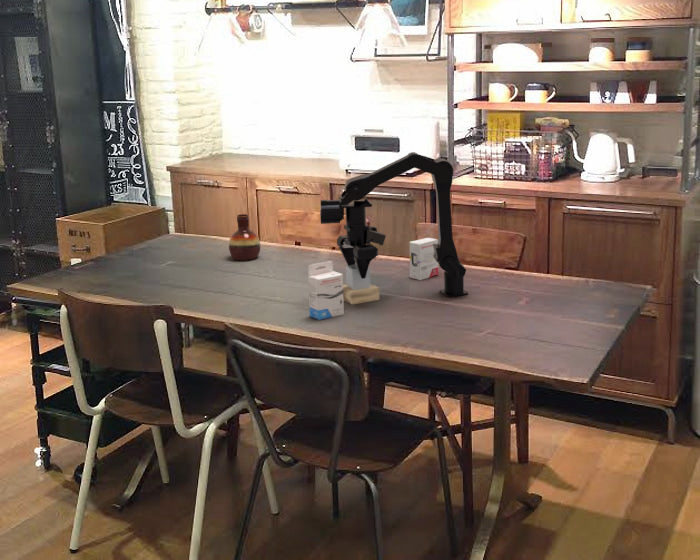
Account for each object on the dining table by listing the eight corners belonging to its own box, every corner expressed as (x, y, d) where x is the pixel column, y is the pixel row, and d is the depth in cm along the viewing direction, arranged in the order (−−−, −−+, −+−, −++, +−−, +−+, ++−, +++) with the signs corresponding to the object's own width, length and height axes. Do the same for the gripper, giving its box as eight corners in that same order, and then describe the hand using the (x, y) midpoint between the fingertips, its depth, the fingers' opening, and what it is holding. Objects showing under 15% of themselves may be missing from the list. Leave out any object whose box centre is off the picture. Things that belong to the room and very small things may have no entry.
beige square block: (379, 300, 257) (379, 287, 256) (352, 306, 253) (351, 292, 252) (365, 293, 265) (364, 280, 263) (338, 298, 261) (337, 285, 260)
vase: (223, 258, 311) (220, 216, 307) (248, 253, 318) (245, 211, 314) (241, 263, 303) (238, 219, 299) (267, 257, 310) (264, 214, 306)
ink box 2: (428, 272, 284) (428, 236, 280) (439, 275, 280) (439, 239, 277) (408, 277, 278) (408, 241, 275) (419, 280, 274) (419, 244, 271)
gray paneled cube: (370, 287, 256) (370, 267, 255) (352, 290, 254) (352, 269, 253) (363, 283, 261) (363, 263, 259) (346, 285, 259) (345, 265, 258)
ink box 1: (319, 320, 239) (316, 268, 236) (309, 316, 243) (306, 265, 239) (344, 314, 244) (342, 263, 240) (334, 310, 248) (332, 259, 244)
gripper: (394, 225, 247) (395, 278, 251) (370, 213, 264) (371, 264, 268) (357, 229, 243) (359, 283, 247) (335, 217, 260) (337, 268, 264)
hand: (357, 274), depth 257 cm, fingers open, 9 cm apart
